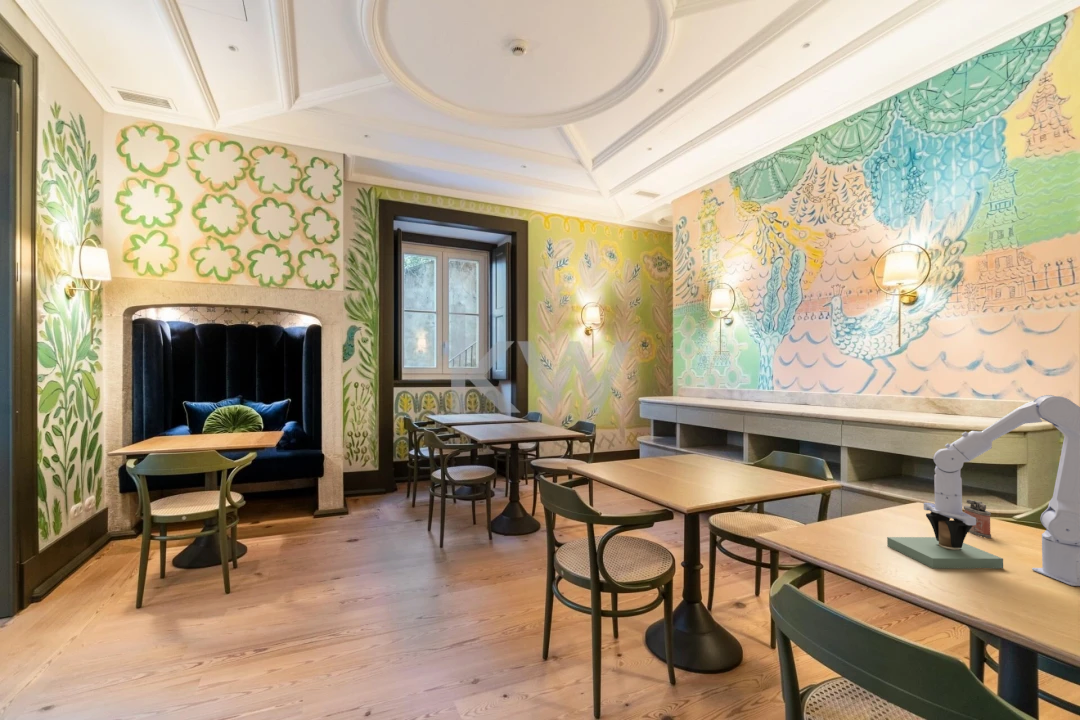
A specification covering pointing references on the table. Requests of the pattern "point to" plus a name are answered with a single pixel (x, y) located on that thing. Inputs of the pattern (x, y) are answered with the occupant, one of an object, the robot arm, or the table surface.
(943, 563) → the board
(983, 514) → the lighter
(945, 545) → the peg
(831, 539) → the table surface
